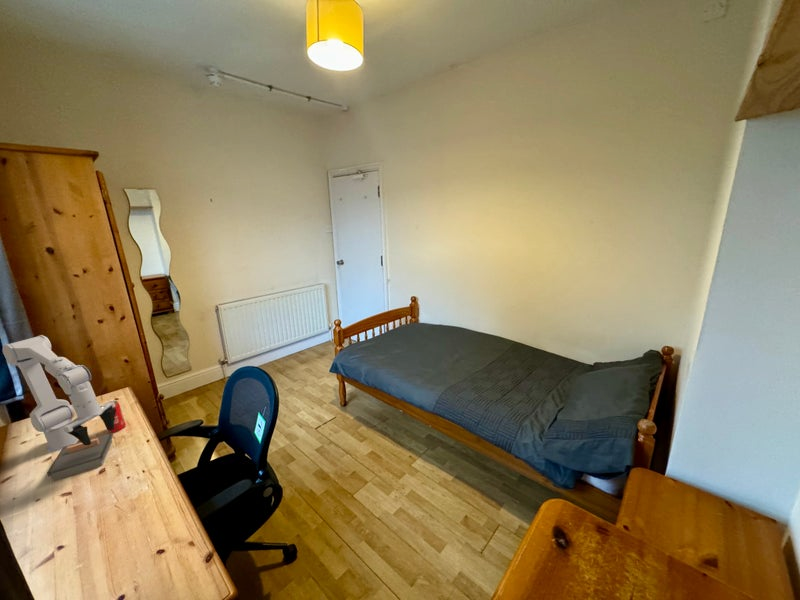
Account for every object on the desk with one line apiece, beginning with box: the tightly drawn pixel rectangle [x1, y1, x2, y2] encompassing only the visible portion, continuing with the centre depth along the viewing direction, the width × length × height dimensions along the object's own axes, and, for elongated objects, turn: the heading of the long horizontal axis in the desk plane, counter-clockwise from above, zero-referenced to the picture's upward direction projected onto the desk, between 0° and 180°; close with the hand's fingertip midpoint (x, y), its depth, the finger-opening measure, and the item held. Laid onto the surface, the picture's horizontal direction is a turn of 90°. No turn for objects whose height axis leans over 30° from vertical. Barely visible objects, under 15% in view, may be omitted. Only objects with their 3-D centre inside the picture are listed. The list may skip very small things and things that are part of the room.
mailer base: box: [51, 439, 113, 482], centre depth 111 cm, size 14×12×3 cm
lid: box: [46, 432, 114, 477], centre depth 110 cm, size 14×14×3 cm
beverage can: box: [108, 400, 127, 433], centre depth 126 cm, size 5×5×12 cm
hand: (99, 436), depth 107 cm, fingers open, 7 cm apart
